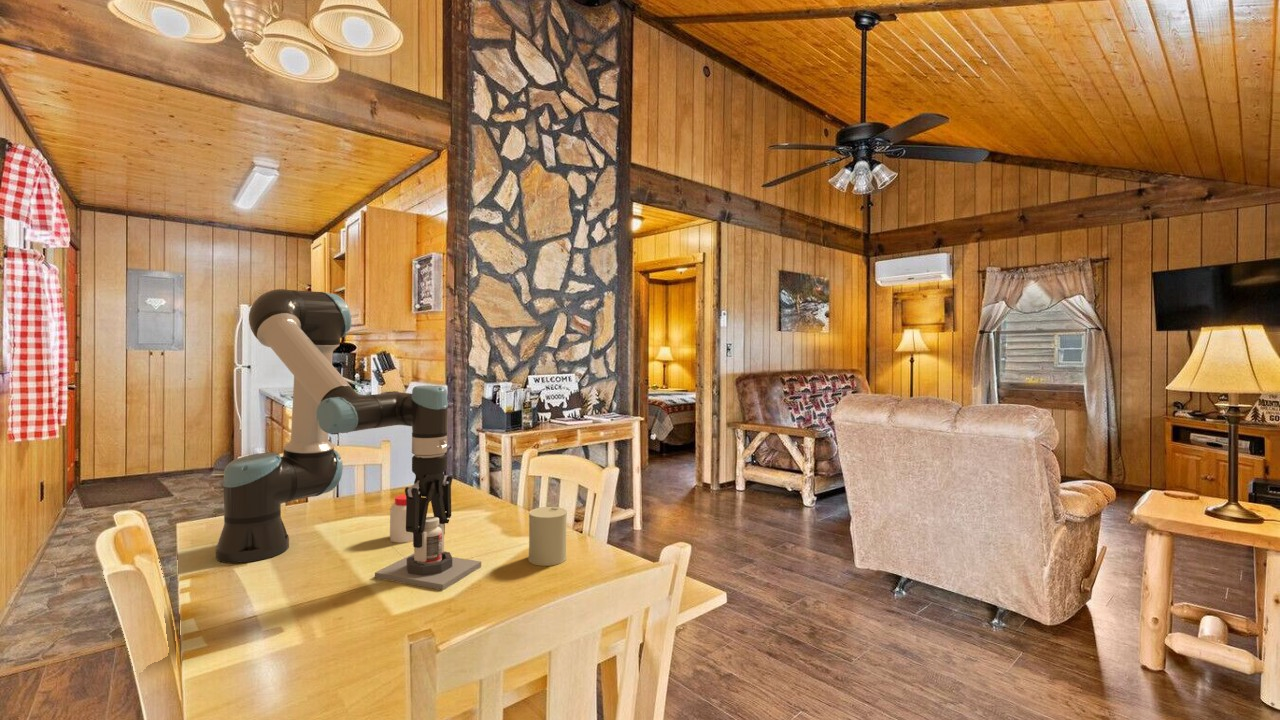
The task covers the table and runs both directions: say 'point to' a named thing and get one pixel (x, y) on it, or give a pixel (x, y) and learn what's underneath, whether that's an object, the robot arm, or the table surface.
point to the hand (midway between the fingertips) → (429, 555)
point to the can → (547, 536)
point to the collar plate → (429, 579)
